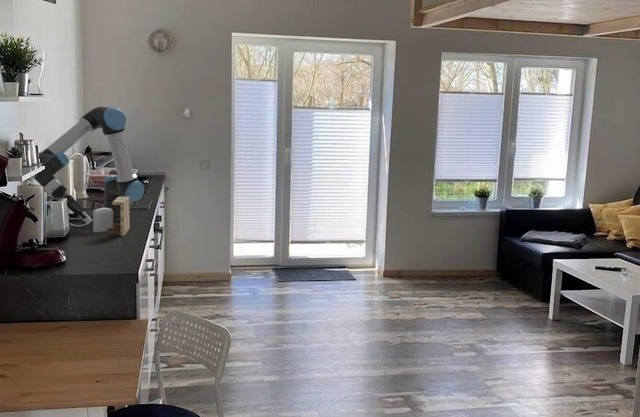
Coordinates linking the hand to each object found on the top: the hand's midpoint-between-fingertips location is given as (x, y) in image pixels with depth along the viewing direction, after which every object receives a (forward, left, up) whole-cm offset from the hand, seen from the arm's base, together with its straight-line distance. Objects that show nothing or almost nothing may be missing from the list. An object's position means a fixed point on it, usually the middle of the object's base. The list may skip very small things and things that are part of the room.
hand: (90, 222), depth 320 cm
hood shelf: (-1, +14, -5) cm, 15 cm away
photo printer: (-2, +6, -5) cm, 8 cm away
